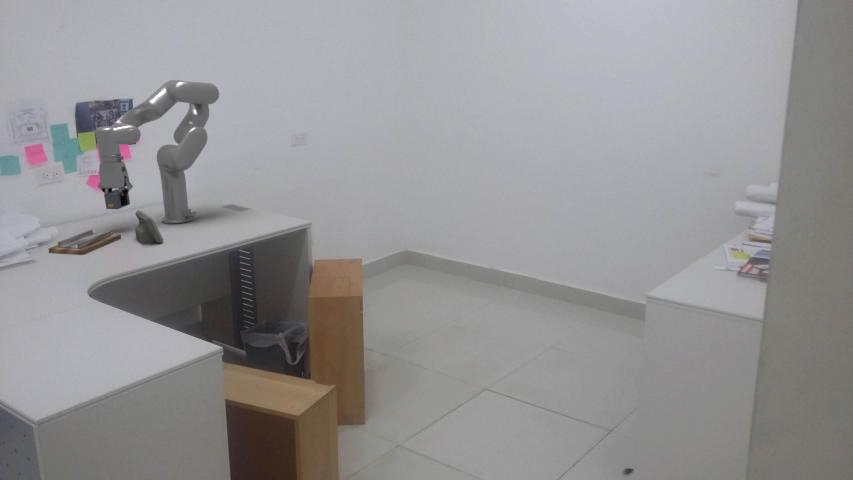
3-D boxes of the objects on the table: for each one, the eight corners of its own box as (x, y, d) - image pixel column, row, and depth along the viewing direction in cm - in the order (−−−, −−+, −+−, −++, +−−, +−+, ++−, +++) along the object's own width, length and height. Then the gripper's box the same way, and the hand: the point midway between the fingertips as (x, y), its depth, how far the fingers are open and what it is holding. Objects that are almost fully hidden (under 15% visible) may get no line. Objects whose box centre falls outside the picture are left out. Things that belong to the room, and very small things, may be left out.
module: (130, 204, 291) (127, 189, 289) (116, 209, 283) (114, 194, 281) (118, 203, 292) (116, 189, 290) (105, 209, 284) (102, 194, 282)
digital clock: (164, 244, 272) (161, 216, 269) (138, 247, 268) (134, 218, 265) (160, 233, 286) (157, 207, 283) (135, 236, 282) (132, 209, 280)
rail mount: (121, 238, 280) (120, 229, 279) (83, 254, 259) (82, 245, 258) (88, 236, 283) (87, 228, 282) (49, 252, 262) (47, 243, 261)
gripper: (136, 157, 284) (143, 203, 289) (97, 157, 287) (104, 202, 293) (124, 161, 277) (131, 207, 282) (85, 160, 280) (92, 206, 286)
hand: (118, 204), depth 287 cm, fingers closed on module, 5 cm apart
